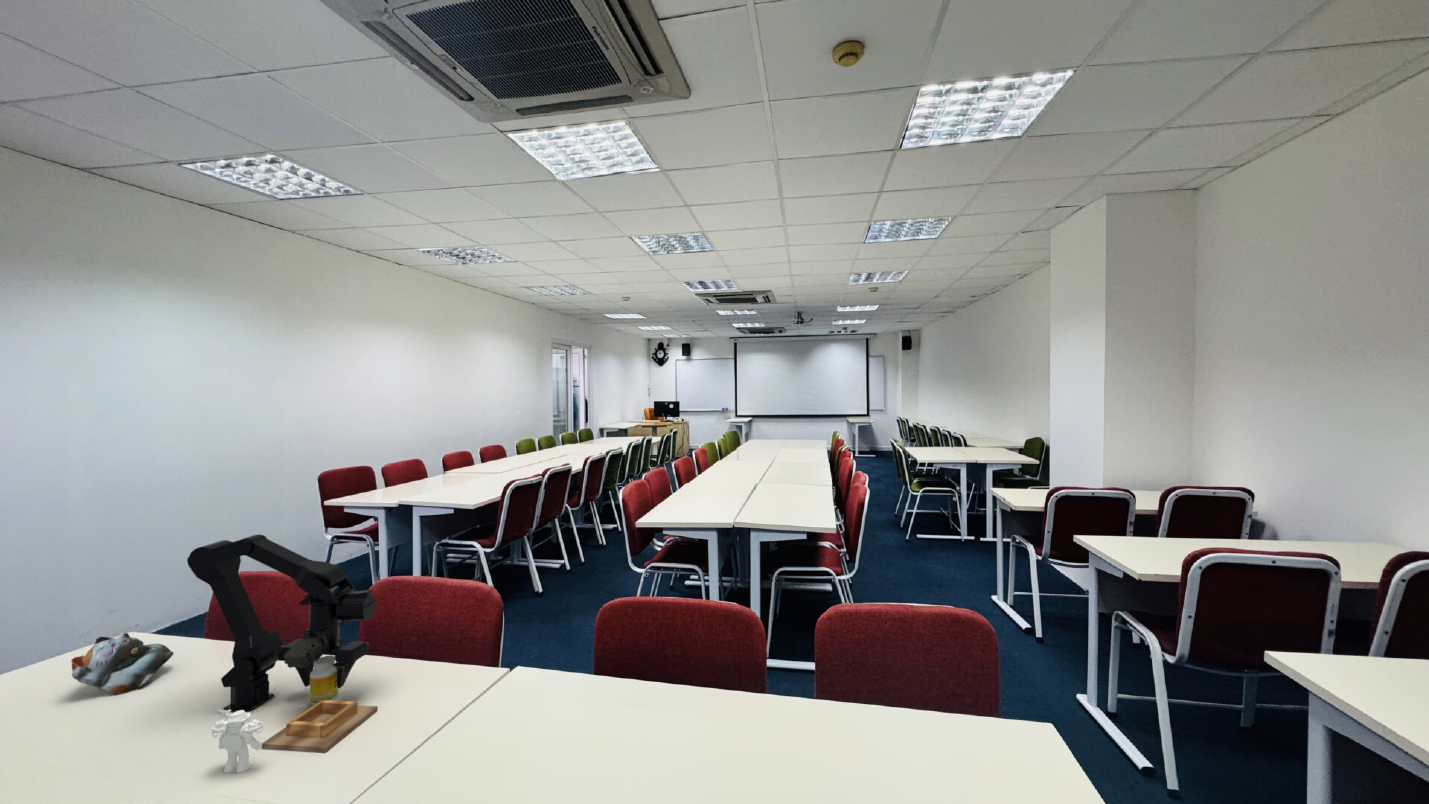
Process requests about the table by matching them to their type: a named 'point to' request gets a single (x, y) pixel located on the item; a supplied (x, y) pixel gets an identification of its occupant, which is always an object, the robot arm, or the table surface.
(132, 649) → the lucky cat figurine
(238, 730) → the flower shoulder figurine
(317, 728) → the socket
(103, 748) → the table surface
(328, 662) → the supplement bottle
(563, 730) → the table surface
